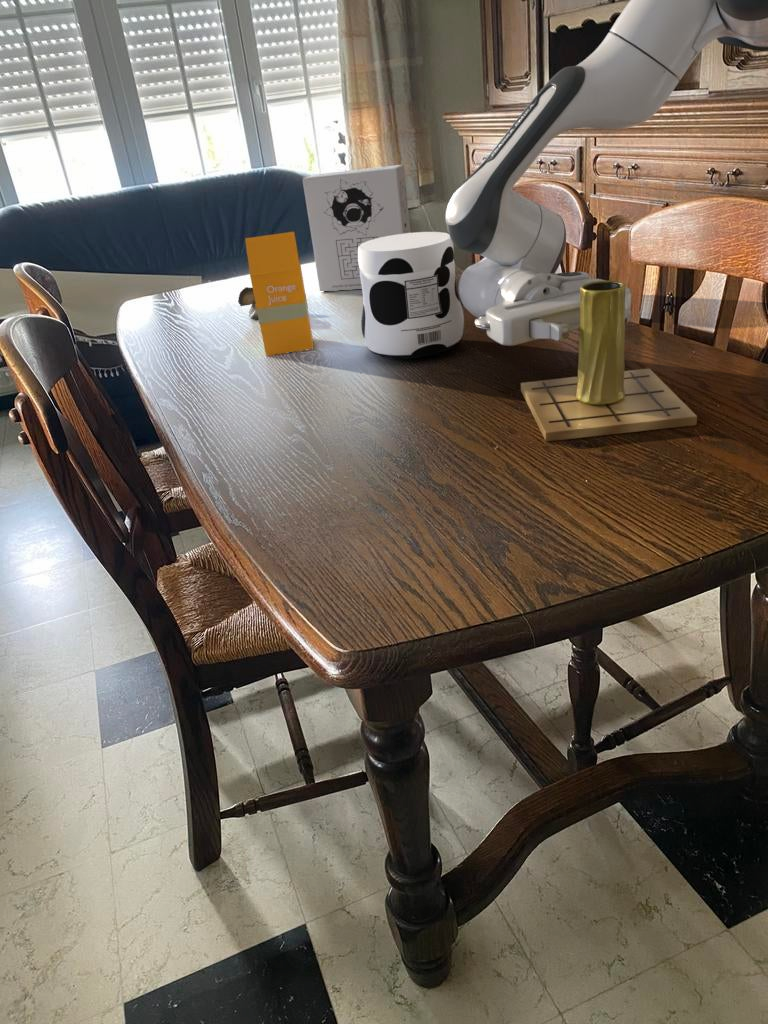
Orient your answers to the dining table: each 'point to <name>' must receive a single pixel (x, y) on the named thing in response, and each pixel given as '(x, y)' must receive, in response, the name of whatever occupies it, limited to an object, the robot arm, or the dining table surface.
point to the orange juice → (279, 293)
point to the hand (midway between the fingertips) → (595, 325)
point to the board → (605, 408)
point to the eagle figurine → (248, 301)
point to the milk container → (409, 295)
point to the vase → (601, 343)
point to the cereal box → (352, 218)
